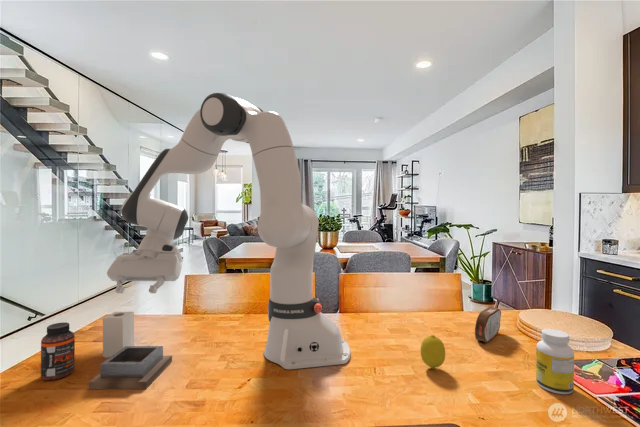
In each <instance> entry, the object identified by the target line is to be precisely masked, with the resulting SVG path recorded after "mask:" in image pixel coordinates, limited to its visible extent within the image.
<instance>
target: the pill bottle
mask: <svg viewBox="0 0 640 427" xmlns="http://www.w3.org/2000/svg"><path fill="white" fill-rule="evenodd" d="M541 338H542V340H539V341H538V342H537V343H536V358H535V360H536V364H535V365H536V366H535V370H536V371H535V372H536V374H535V380H536V383H537V385H538V386H539V387H541V388H542V389H544V390H545V391H548V392H550V393H554V394H559V395H569V394H571V393H573V392H574V390H575V389H574V388H575V386H574V384H575V382H574V380H575V378H574V377H575V376H574V375H575V351H574V349H573V348H572V347H571V346H570V345H569V343H570V334H568V333H567V332H564V331H562V330H559V329H555V328H554V329H553V328H544V329H542V330H541Z"/></svg>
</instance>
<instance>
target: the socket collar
mask: <svg viewBox="0 0 640 427" xmlns="http://www.w3.org/2000/svg"><path fill="white" fill-rule="evenodd" d="M163 356H164V346H163V345H136V346H135V345H134V346H125V347H124V348H122V349H121V350H119V351H118V352H117V353H115V354H114V355H113V356H111V357H107V359H105V360H104V361H103V362H102V363H100V367H99V369H100V370H99V372H100V373H99V374H100V378H144V377H145V376H146V375H147V374H148V373H149V372H150V371H151V370H152V369H153V368H154V367H155V366H156V365H157V364H158V363H159V362H160V361H161V360H162V359H163ZM135 360H142V361H141V362H126V361H135Z"/></svg>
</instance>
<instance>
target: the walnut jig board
mask: <svg viewBox="0 0 640 427" xmlns="http://www.w3.org/2000/svg"><path fill="white" fill-rule="evenodd" d="M141 361H142V360H135V361H126V362H141ZM172 362H173V355H163V359H162V360H161V361H160V362H159V363H158V364H157V365H156V366H155V367H154V368H153V369H152V370H151V371H150V372H149V373H148V374H147V375H146V376H145V377H144V378H100V373H98V374H97V375H96V376H95V377H93V378H92V379H91V380H89V381H88V384H87V385H88V388H87V389H88V390H147V389H148V388H149V387H150V386H151V385H152V384H153V383H154V382H155V380H157V378H158V377H159V376H160V375H161V374H162V373H163V372H164V371H165V370H166V369H167V368H168V367H169V366H170V364H171V363H172Z"/></svg>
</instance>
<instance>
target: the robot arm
mask: <svg viewBox="0 0 640 427" xmlns="http://www.w3.org/2000/svg"><path fill="white" fill-rule="evenodd" d="M228 140H232V141H235V142H242V143H247V144H249V146H250V150H251V155H252V160H253V163H254V167H255V172H256V176H257V180H258V185H259V186H258V187H259V196H260V198H259V199H260V215H259V217H258V219H257V232H258V236H259V237H260V239H261V240H262V242H264V243H265V244H266V245H268V246H270V247H273V248H276V250H275V253H274V258H273V261H272V263H271V266H270V272H269V273H270V274H269V276H270V278H269V282H270V284H269V286H270V287H269V290H270V291H269V296H270V297H269V299H268V304H267V312H268V313H267V317H268V322H269V324H268V332H267V333H268V334H267V337H266V338H267V339H266V345H265V348H264V351H263V355H264V358H266V360H269V361H270V362H271V363H275V364H278V365H279V366H281V367H282V368H283V369H284V370H297V369H305V368H307V369H308V368H316V367H328V366H335V365H345V364H347V363H348V362H349V361H350V359H351V347H350V345H349V343H348V342H347V340H345V339H344V338H342V335H341V331H340V329H339V328H340V327H339V326H338V325H337V323H336V322H335V321H334V320H332V319H331V318H329V317H328V316H326V315H325V314H324V313H323V312H322V311H323V306H322V304H321V301H320V299H319V298H318V297H317V298H316V297H314V296H313V288H314V286H313V282H314V281H313V272H314V270H313V269H314V259H315V255H316V254H315V253H316V246H317V238H318V237H317V236H318V230H319V226H320V225H319V224H320V222H319V218H318V215H317V213H316V212H315V211H314V210H313V209H312V208H311V207H310V206H308V205H305V204H303V201H302V192H301V191H302V190H301V180H302V176H301V171H300V167H299V163H298V158H297V156H296V152H295V148H294V144H293V141H292V138H291V135H290V132H289V130H288V127H287V125H286V123H285V121H284V119H283V117H282V116H281V115H280V114H279V113H277V112H275V111H271V110H265V111H264V110H263V109H262V108H260V107H259V106H255V105H253V104H251V103H250V102H248V101H246V100H244V99H242V98H239V97H236V96H232V95H231V94H228V93H224V92H213V93H211V94H208V95H207V96H206V97H205V99H203V101H202V103H201V105H200V108H199V109H198V110H197V111H196V112H195V113H194V115H193V116H192V117H191V119H190V120H189V122H188V123H187V126H186V127H185V129H184V131H183V133H182V136H181V138H180V140H179V142H178V143H177V144H176V145H174V146H173V147H172V148H165V149H163V150H162V151H161V152H160V153H159V154H158V156H157V157H156V158H155V160H154V161H153V162H152V164H151V165H150V166H149V168H148V169H147V171H146V173H145V174H144V175H143V177H142V178H141V180H140V181H139V183H138V185H137V186H136V187H135V188H134V190H133V191H132V192H131V193H130V194H129V195H128V196H127V197H126V198H125V199H124V201H123V203H122V206H121V210H120V213H121V216H122V217H123V219H124V221H126V223H128V224H131V225H135V226H140V227H144V228H147V229H146V231H145V232H146V233H145V236H144V237H143V238H142V240H141V242H140V244H138V245H139V246H138V248H137V249H136V251H135V252H123V253H122V254H120V255H117V257H116V258H115V260H114V261H113V262H112V264H110V267H108V269H107V271H106V276H107V277H108V279H110V280H111V281H112V282H116V288H115V293H117V294H124V292H125V290H126V288H125V287H124V284H125V282H155V283H154V284H151V285H150V286H149V288H148V292H149V293H150V294H157V292H158V289H160V288H161V287H162V286H163V285H164V284H165V282H176V281H177V280H178V279H179V277H180V276H181V275H180V274H181V272H182V267H183V266H182V262H183V256H182V254H181V252H180V250H179V249H178V247H177V246H175V245H172V243H173V242H174V241H175V240H177V239H179V238H180V237H181V236H183V234H184V231H185V227H186V225H187V223H188V221H189V214H188V212H187V210H186V209H185V208H183V207H181V206H180V205H177V204H175V203H172V202H168V201H166V200H163V199H160V198H158V197H155V196H153V195H152V194H151V192H152V190H153V189H154V188H155V186H156V185H157V184H158V182H159V180H161V178H162V177H163V176H164V175H165V176H166V175H167V174H184V175H198V174H202V173H205V172H207V171H209V170H210V169H211V168H212V167H213V165H214V164H215V162H216V161H217V159H218V157H219V155H220V152H221V150H222V147H223V146H224V143H226V141H228Z"/></svg>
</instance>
